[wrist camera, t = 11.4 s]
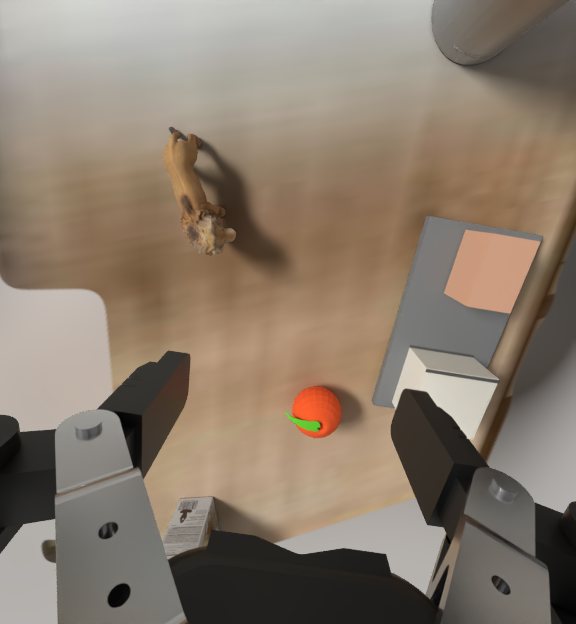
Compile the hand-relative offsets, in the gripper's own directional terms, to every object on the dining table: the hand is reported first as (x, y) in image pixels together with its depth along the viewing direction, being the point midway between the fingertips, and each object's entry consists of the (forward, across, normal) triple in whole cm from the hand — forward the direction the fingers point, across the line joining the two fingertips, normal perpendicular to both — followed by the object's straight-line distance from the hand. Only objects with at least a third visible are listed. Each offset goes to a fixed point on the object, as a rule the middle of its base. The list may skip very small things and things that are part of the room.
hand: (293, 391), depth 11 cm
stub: (+29, -22, -3) cm, 36 cm away
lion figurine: (+30, +12, -6) cm, 33 cm away
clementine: (+30, -6, +20) cm, 37 cm away
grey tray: (+30, -22, +6) cm, 38 cm away
